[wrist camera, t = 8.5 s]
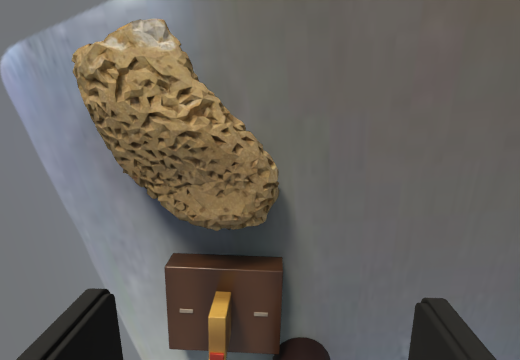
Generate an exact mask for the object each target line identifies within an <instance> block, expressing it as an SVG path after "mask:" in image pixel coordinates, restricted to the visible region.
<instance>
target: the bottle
mask: <svg viewBox="0 0 520 360" xmlns="http://www.w3.org/2000/svg"><path fill="white" fill-rule="evenodd" d="M273 360H330V358H329V355H328V352H327V351H326V349H325V348H324V347H323V346H322V345H321V344H320V343H318V342H317V341H315V340H312V339H309V338H294V339H290V340H287V341H286V342H284V343H282V344H281V345H280V350H279V354H274V356H273Z"/></svg>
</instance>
